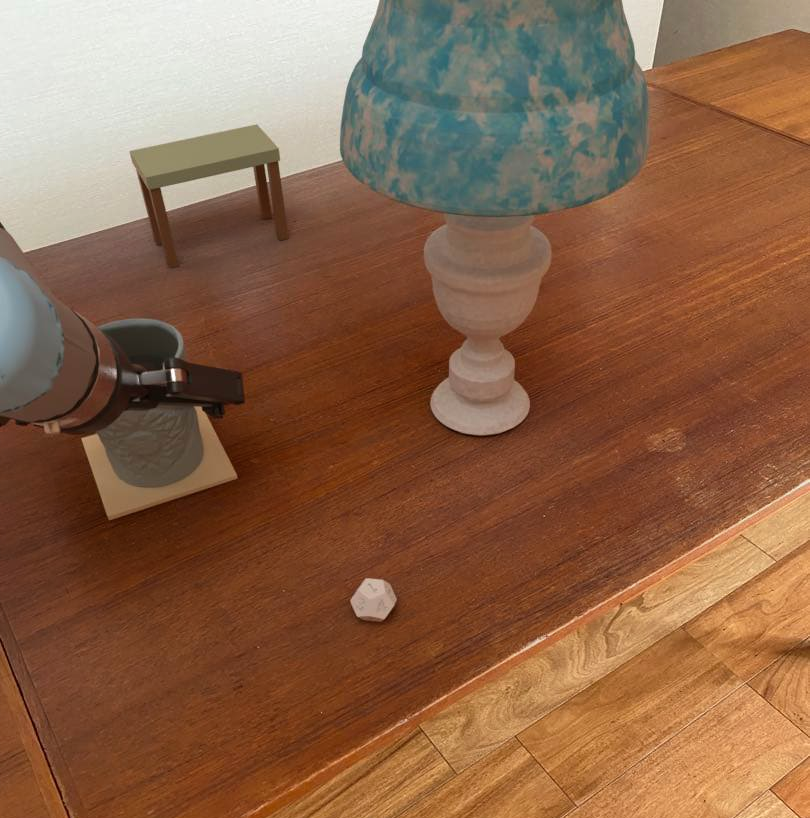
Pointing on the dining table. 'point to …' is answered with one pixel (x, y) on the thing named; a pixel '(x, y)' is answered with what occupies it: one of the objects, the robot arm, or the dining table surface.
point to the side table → (208, 174)
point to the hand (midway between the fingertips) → (140, 410)
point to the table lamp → (493, 157)
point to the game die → (373, 600)
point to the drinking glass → (152, 414)
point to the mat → (133, 498)
